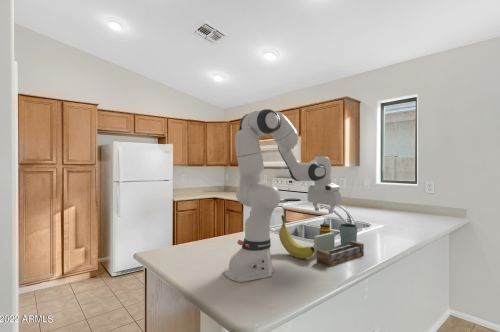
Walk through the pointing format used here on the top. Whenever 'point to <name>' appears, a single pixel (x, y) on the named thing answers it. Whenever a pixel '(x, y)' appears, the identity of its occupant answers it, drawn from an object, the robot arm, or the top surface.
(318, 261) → the track base
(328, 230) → the condiment
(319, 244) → the door panel
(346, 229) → the grey-green cup
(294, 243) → the banana
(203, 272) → the top surface
